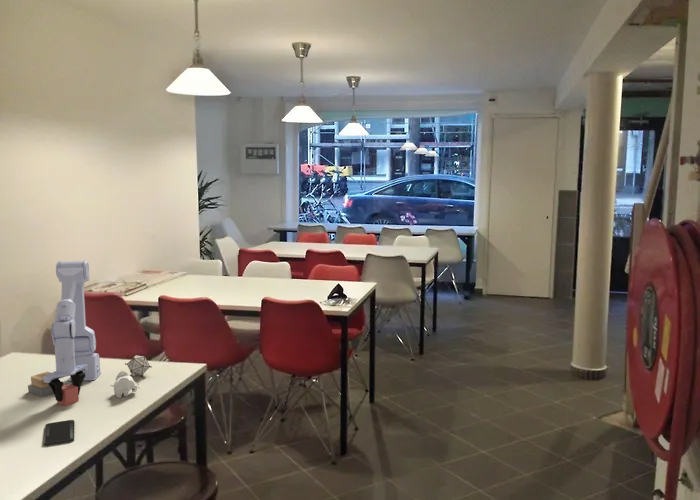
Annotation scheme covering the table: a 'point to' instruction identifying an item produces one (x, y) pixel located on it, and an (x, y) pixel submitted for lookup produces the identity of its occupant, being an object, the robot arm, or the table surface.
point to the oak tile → (39, 380)
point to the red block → (69, 395)
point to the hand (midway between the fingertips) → (67, 397)
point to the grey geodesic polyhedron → (138, 365)
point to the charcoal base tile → (40, 390)
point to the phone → (59, 433)
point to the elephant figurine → (124, 385)
